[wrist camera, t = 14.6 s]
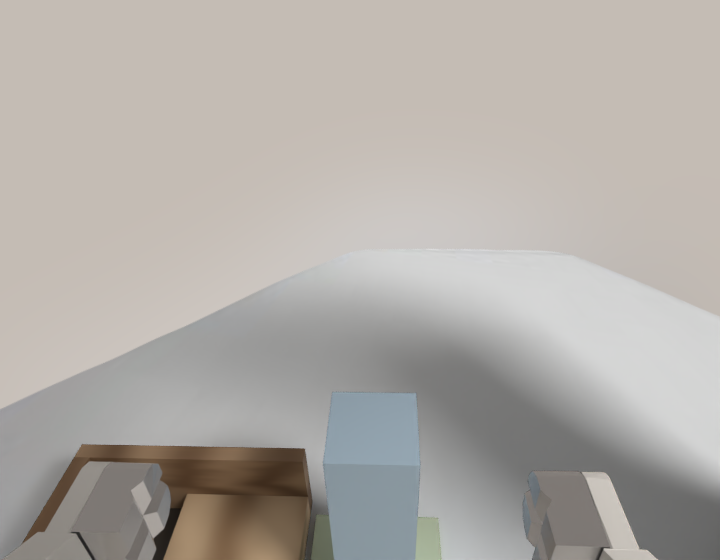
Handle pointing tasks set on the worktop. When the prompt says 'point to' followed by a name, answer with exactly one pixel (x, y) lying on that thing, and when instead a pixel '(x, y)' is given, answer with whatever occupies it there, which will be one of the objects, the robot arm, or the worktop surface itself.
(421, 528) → the mat
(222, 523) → the brown wooden open box
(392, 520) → the block
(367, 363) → the worktop surface
